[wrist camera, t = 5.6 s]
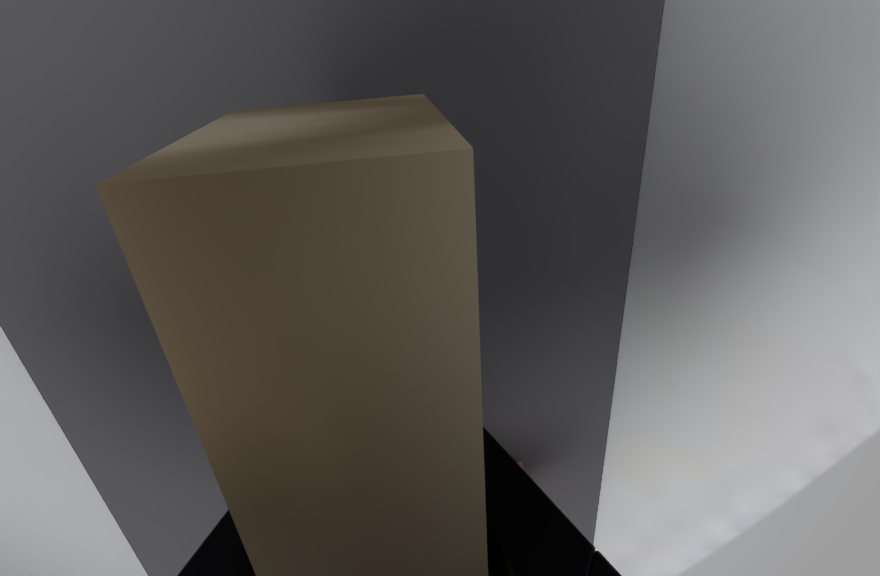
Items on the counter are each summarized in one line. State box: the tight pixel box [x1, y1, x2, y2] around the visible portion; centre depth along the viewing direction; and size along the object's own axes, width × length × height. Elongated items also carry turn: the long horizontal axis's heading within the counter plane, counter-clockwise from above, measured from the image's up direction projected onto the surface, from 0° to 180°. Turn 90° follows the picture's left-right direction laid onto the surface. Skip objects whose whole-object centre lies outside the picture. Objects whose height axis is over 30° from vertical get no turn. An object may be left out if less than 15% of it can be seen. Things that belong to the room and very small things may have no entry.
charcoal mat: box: [0, 0, 665, 576], centre depth 14 cm, size 16×27×1 cm, turn 4°
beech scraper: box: [95, 94, 488, 576], centre depth 8 cm, size 9×13×4 cm
